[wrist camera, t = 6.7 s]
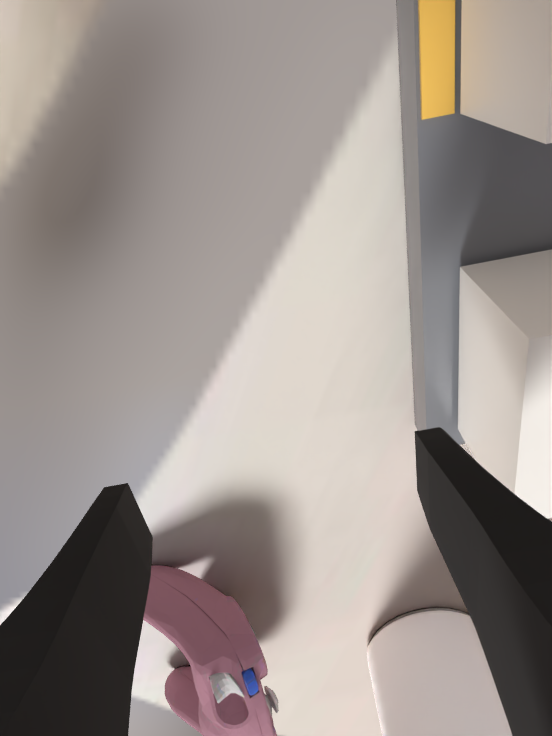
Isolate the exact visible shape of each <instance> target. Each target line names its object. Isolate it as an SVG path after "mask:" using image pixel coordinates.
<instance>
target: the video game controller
mask: <svg viewBox="0 0 552 736" xmlns="http://www.w3.org/2000/svg"><path fill="white" fill-rule="evenodd" d="M143 620H145V621H146V622H148V623H149V624H150V625H152V626H153V627H155V628H156V629H157V630H159V631H160V632H161V633H163V634H164V635H165V636H166V637H167V638H169V639H170V640H171V641H172V642H173V643H174V644H175V645H176V646H177V647H178V648H179V649H180V650H181V651H182V653H183V654H184V656H185V657H186V659H187V660H188V662H189V663H190V666H188V667H179V668H177V669H175V670H174V671H172V672H171V673H170V675H169V676H168V678H167V680H166V683H165V696H166V699H167V701H168V703H169V705H170V707H171V709H172V710H173V711H174V712H175V713H176V714H177V715H178V716H179V717H180V718H181V719H182V720H184V721H185V722H186V723H188V724H189V725H190V726H192V727H193V728H194V729H196V730H197V731H198V732H200V733H201V734H202V735H203V736H277V734H276V731H275V728H274V725H273V719H272V707H273V709H274V710H275V712H276V713H277V712H278V711H279V710H278V699H277V697H276V695H275V693H274V692H273V690H271V689H270V688H268V687H267V686H265V687H264V688H265V692H266V695H265V694H264V692H263V688H262V685H261V681H260V680H261V679H262V678H264V677H265V676H266V675H267V666H266V662H265V659H264V656H263V653H262V650H261V648H260V645H259V643H258V640H257V638H256V635H255V633H254V631H253V629H252V627H251V625H250V623H249V622H248V620H247V618H246V616H245V614H244V612H243V611H242V609H241V607H240V606H239V604H238V603H237V601H236V600H235V599H234V598H233V597H232V596H225V595H224V594H222V593H221V592H220V591H219V590H217V589H215V588H214V587H212V586H211V585H209V584H208V583H206V582H205V581H203V580H202V579H200V578H198V577H196V576H194V575H191V574H189V573H187V572H185V571H183V570H180V569H176V568H172V567H169V566H160V565H154V566H151V577H150V584H149V590H148V595H147V601H146V607H145V613H144V618H143Z"/></svg>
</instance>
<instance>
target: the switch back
mask: <svg viewBox="0 0 552 736" xmlns="http://www.w3.org/2000/svg"><path fill="white" fill-rule="evenodd" d="M458 430H459V432H460V434H461V436H462V437H463V439H464V441H465V443H466V445H467V446H468V448H469V450H470V452H471V454H472V455H473V457H474V459H475V460H476V461H477V462H478V463H479V464H480V465H481V466H482V467H483V468H484V469H486V470H487V471H488V472H489V473H490V474H491V475H493V476H494V477H495V478H496V479H497V480H498V481H500V482H501V483H502V484H503V485H504V486H506V487H507V488H508V489H509V490H510V491H512V492H513V493H514V494H515V495H517V496H518V497H519V498H520V499H522V500H523V501H524V502H526V503H527V504H528V505H530V506H531V507H532V508H533V509H535V510H536V511H537V512H539V513H540V514H542V515H543V516H544V517H546V518H547V519H550V518H552V249H551V250H546V251H541V252H536V253H530V254H525V255H520V256H514V257H509V258H504V259H499V260H493V261H488V262H483V263H477V264H472V265H467V266H462V267H460V294H459V378H458Z"/></svg>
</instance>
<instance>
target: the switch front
mask: <svg viewBox="0 0 552 736" xmlns="http://www.w3.org/2000/svg"><path fill="white" fill-rule="evenodd" d="M460 114H462V115H465V116H468V117H471V118H474V119H476V120H479V121H482V122H485V123H488V124H491V125H493V126H496V127H499V128H502V129H505V130H507V131H510V132H513V133H516V134H519V135H521V136H524V137H527V138H530V139H533V140H536V141H538V142H541V143H544V144H549V143H552V0H462V10H461V103H460Z"/></svg>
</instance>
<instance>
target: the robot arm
mask: <svg viewBox="0 0 552 736" xmlns="http://www.w3.org/2000/svg"><path fill="white" fill-rule="evenodd" d="M415 447H416V470H417V491H418V494H419V497H420V500H421V503H422V506H423V510H424V513H425V516H426V519H427V522H428V524H429V527H430V530H431V532H432V534H433V537H434V539H435V541H436V543H437V545H438V547H439V550H440V552H441V554H442V556H443V558H444V560H445V563H446V565H447V567H448V569H449V571H450V573H451V576H452V578H453V580H454V582H455V584H456V586H457V588H458V591H459V593H460V595H461V597H462V599H463V601H464V603H465V606H466V608H467V610H468V612H469V615H470V617H471V619H472V622H473V624H474V627H475V629H476V632H477V634H478V637H479V640H480V643H481V646H482V648H483V651H484V654H485V657H486V660H487V662H488V665H489V668H490V671H491V674H492V677H493V680H494V682H495V685H496V688H497V691H498V694H499V697H500V700H501V703H502V706H503V709H504V712H505V715H506V718H507V721H508V724H509V727H510V730H511V733H512V736H552V522H551V521H550V520H549V519H547V518H546V517H544V516H543V515H542V514H540V513H539V512H537V511H536V510H535V509H533V508H532V507H531V506H530V505H528V504H527V503H526V502H524V501H523V500H522V499H520V498H519V497H518V496H517V495H515V494H514V493H513V492H512V491H510V490H509V489H508V488H507V487H506V486H504V485H503V484H502V483H501V482H500V481H498V480H497V479H496V478H495V477H494V476H493V475H491V474H490V473H489V472H488V471H487V470H486V469H484V468H483V467H482V466H481V465H480V464H479V463H478V462H477V461H476V460H475V459H473V458H472V457H471V456H470V455H469V454H468V453H467V452H466V451H465V450H464V449H463V448H462V447H461V446H460V445H459V444H458V443H457V442H456V441H455V440H454V439H453V438H452V437H451V436H450V435H449V434H448V433H447V432H446V431H445V430H443V429H442V428H441V427H437V428H431V429H425V430H420V431H415ZM152 538H153V537H152V535H151V533H150V531H149V529H148V526H147V524H146V522H145V520H144V518H143V515H142V513H141V511H140V509H139V507H138V504H137V502H136V500H135V498H134V496H133V493H132V491H131V489H130V487H129V485H128V483H126V484H121V485H116V486H109V487H104V488H103V490H102V491H101V493H100V494H99V496H98V497H97V498H96V500H95V501H94V503H93V504H92V506H91V507H90V509H89V510H88V511H87V513H86V514H85V516H84V517H83V519H82V520H81V522H80V523H79V525H78V526H77V528H76V529H75V531H74V532H73V533H72V535H71V536H70V538H69V539H68V540H67V542H66V543H65V545H64V546H63V547H62V549H61V551H60V552H59V553H58V555H57V556H56V557H55V559H54V560H53V562H52V563H51V564H50V566H49V567H48V568H47V569H46V571H45V572H44V573H43V575H42V576H41V577H40V578H39V580H38V581H37V582H36V584H35V585H34V586H33V587H32V589H31V590H30V591H29V593H28V594H27V595H26V596H25V598H24V599H23V600H22V601H21V602H20V604H19V605H18V606H17V607H16V608H15V609H14V611H13V612H12V613H11V614H10V615H9V616H8V617H7V618H6V620H5V621H4V622H3V623H2V624H1V625H0V736H128V728H129V715H130V703H131V691H132V682H133V675H134V668H135V662H136V657H137V651H138V646H139V640H140V635H141V629H142V624H143V618H144V613H145V607H146V601H147V595H148V590H149V584H150V577H151V563H152Z"/></svg>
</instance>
